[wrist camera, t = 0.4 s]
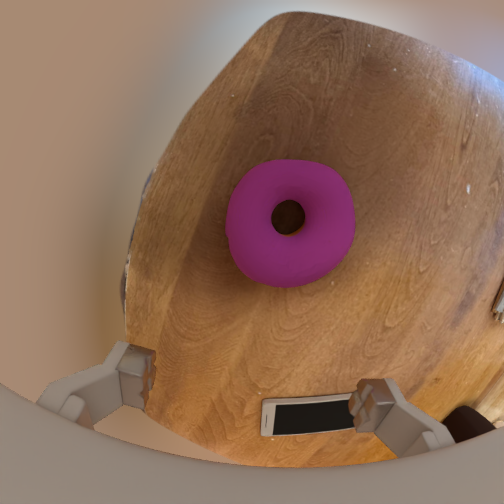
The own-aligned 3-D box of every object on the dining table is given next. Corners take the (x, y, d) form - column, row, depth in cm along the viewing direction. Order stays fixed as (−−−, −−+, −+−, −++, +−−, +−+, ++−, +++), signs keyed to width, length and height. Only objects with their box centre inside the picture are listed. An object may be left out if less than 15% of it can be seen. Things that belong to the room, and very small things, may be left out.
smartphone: (367, 421, 33) (369, 426, 32) (260, 431, 33) (260, 437, 32) (381, 388, 31) (384, 392, 30) (262, 398, 31) (262, 403, 30)
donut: (346, 163, 23) (367, 163, 19) (339, 273, 26) (355, 294, 22) (226, 159, 23) (221, 158, 19) (229, 274, 26) (225, 296, 22)
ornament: (493, 417, 38) (518, 423, 32) (490, 418, 42) (513, 424, 36) (481, 444, 36) (505, 451, 30) (479, 443, 40) (501, 449, 34)
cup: (457, 397, 33) (489, 443, 22) (491, 396, 35) (518, 433, 23) (423, 435, 36) (446, 482, 25) (461, 430, 38) (484, 468, 26)
